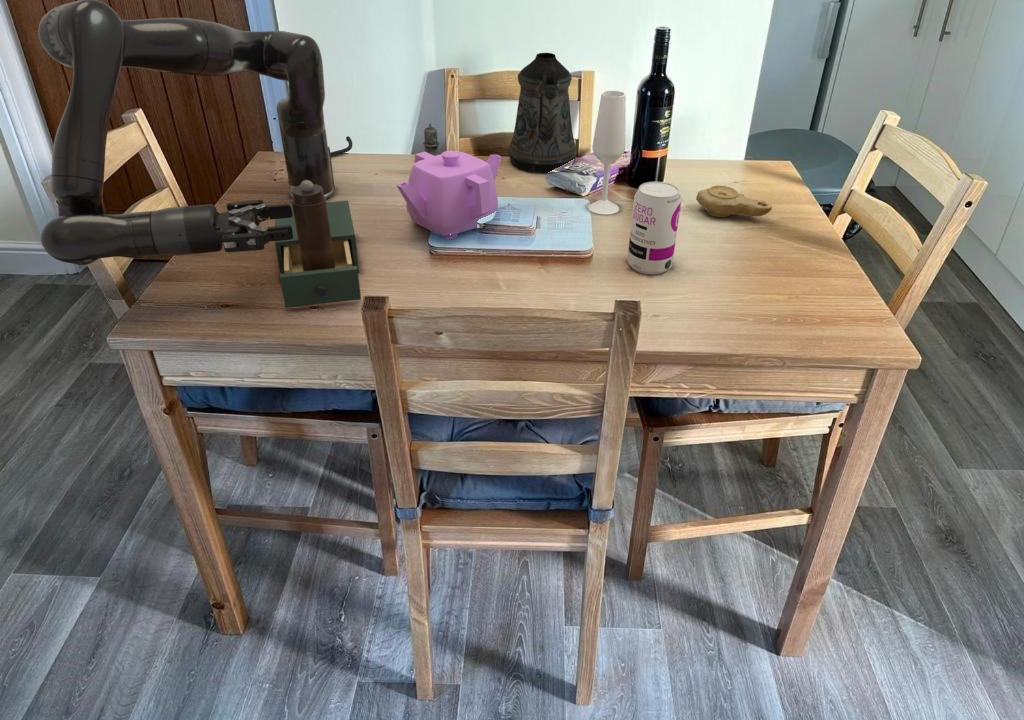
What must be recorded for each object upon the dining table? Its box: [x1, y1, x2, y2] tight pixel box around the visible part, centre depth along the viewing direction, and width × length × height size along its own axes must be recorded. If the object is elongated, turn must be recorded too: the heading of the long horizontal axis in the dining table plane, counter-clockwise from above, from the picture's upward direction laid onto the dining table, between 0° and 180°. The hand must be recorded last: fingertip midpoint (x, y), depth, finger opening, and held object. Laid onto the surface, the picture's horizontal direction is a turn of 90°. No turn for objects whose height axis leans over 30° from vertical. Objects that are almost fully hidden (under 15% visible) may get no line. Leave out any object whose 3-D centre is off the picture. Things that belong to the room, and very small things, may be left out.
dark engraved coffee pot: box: [507, 52, 578, 174], centre depth 177 cm, size 16×19×25 cm
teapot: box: [396, 150, 502, 240], centre depth 151 cm, size 19×18×15 cm
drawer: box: [279, 239, 362, 309], centre depth 131 cm, size 16×12×6 cm
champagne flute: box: [587, 89, 627, 215], centre depth 156 cm, size 7×7×24 cm
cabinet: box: [274, 199, 360, 274], centre depth 140 cm, size 16×14×8 cm
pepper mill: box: [291, 180, 335, 271], centre depth 126 cm, size 5×5×18 cm
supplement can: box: [627, 181, 683, 276], centre depth 137 cm, size 8×8×15 cm
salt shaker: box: [422, 123, 440, 156], centre depth 174 cm, size 6×6×12 cm
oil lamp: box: [695, 184, 773, 218], centre depth 160 cm, size 11×14×5 cm
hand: (292, 220), depth 124 cm, fingers open, 8 cm apart
